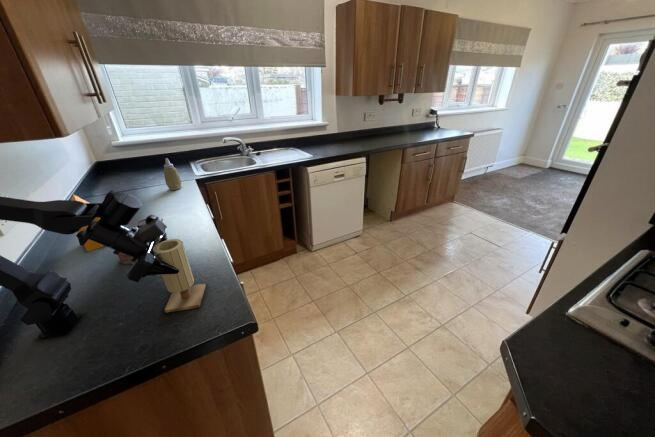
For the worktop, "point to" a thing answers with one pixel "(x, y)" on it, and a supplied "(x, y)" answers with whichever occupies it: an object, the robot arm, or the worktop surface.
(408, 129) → the worktop surface
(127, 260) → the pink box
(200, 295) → the stand
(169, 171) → the squeeze bottle
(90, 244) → the orange juice
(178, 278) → the cream hollow cylinder
